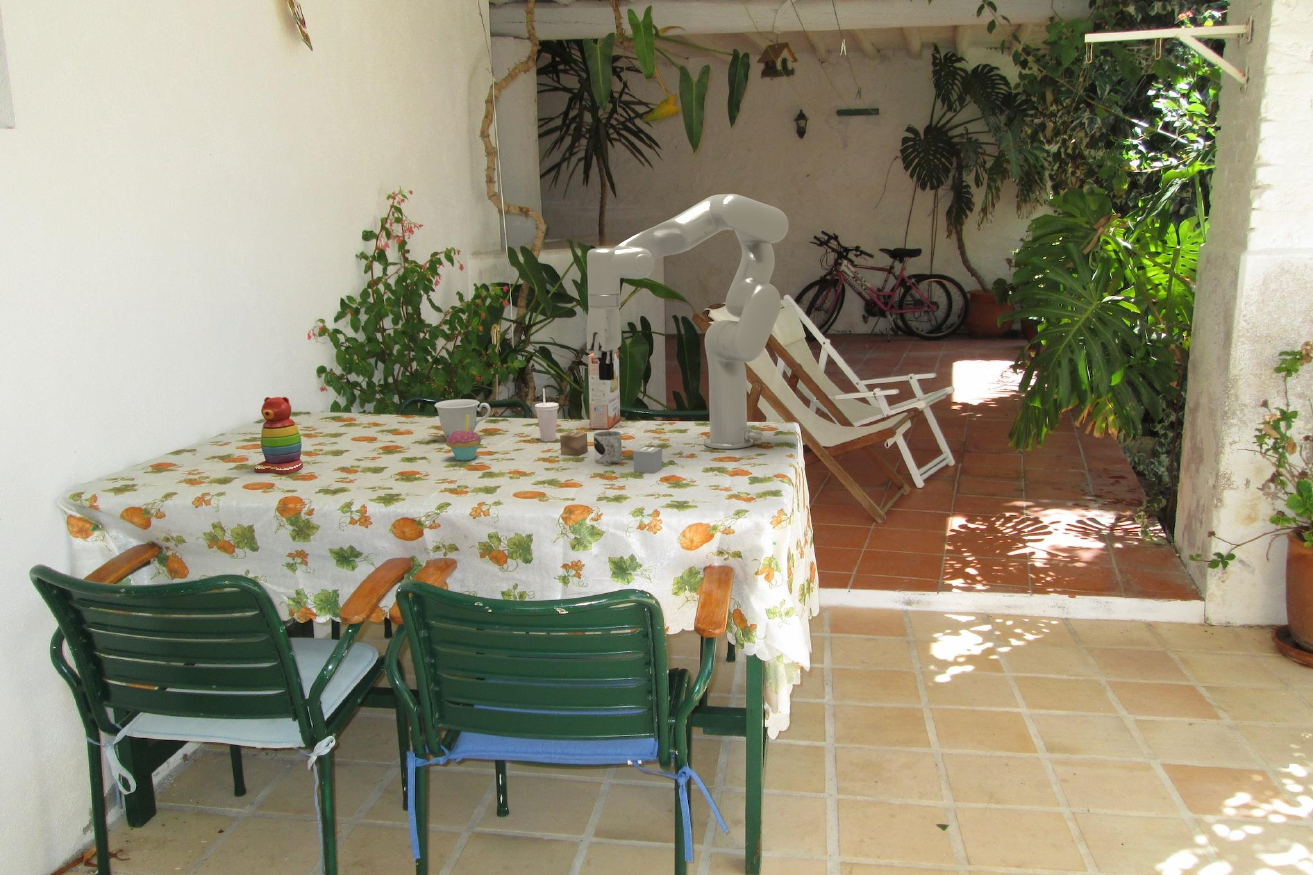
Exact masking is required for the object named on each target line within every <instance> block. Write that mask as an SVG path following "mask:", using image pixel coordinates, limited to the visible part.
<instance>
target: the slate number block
mask: <svg viewBox="0 0 1313 875" xmlns="http://www.w3.org/2000/svg"><path fill="white" fill-rule="evenodd" d="M632 454H633V472H634V473H644V474H655V473H657V472H659V471H660V470H662V469H663V448H662V447H656V446H655V447H652V446H640V447H638V448H637V449H635V450H633V453H632Z"/></svg>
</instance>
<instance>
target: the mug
mask: <svg viewBox="0 0 1313 875" xmlns="http://www.w3.org/2000/svg"><path fill="white" fill-rule="evenodd" d="M622 444H623V443H622V433H621V432H620V431H615V430H605V431H604V430H603V431H597V432H595V433H593V448H594V449H593V450H594V462H595V463H597V464H600V465H601V464H602V465H604V464H605V465H610V464H617V463H621V462H623V452H622V451H623V448H622Z"/></svg>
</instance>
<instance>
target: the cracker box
mask: <svg viewBox="0 0 1313 875" xmlns="http://www.w3.org/2000/svg"><path fill="white" fill-rule="evenodd" d="M601 350H602V349H601ZM613 363H614V379H613V380H600V379H599V363H598V361H597V358H596V357H594V352H592V353H590V354H589V355H587V367H588V369H587V371H588V372H587V373H588V404H589V406H588V408H589V429H592V430H609V429H611V428H612V427H613V426H615V425H616V424H617V423H618V422H620V421H621V412H620V411H621V398H620V397H621V396H620V395H621V394H620V389H621V388H620V350H619V349H618V351H617V352H616V353H615V357H614V362H613Z"/></svg>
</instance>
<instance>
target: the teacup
mask: <svg viewBox="0 0 1313 875" xmlns="http://www.w3.org/2000/svg"><path fill="white" fill-rule="evenodd" d="M478 406H479V407H478ZM434 407H435V408H436V410H437V414H438V418H439V419H438V420H439V423H440V427H441V430H442V432H443V434H445V435H446V436H447V437H448V436H449V435H451V434H452V433H453V432H457V431H465V430H466V415H469V425H468V430H470V431H472V432H475V429H476V427H477V425H478V424H479V423H480V422H482V421H484V420H486V419H487V418H489V416H490V415H491V412H492V410H491V406H490V405H489V403H487V402H481V403H480V401H478V400H477V399H468V398H467V399H466V398H465V399H464V398H462V399H460V398H459V399H449V400H447V399H446V400H442V401H439V402H436V403H435V404H434ZM483 407H484V408H486V409H487V412H486V414H485V415H484V416H482V417H479V418H478V419H477V415H478V414H477V412H481V411H482V408H483ZM468 412H469V414H468Z"/></svg>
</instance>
